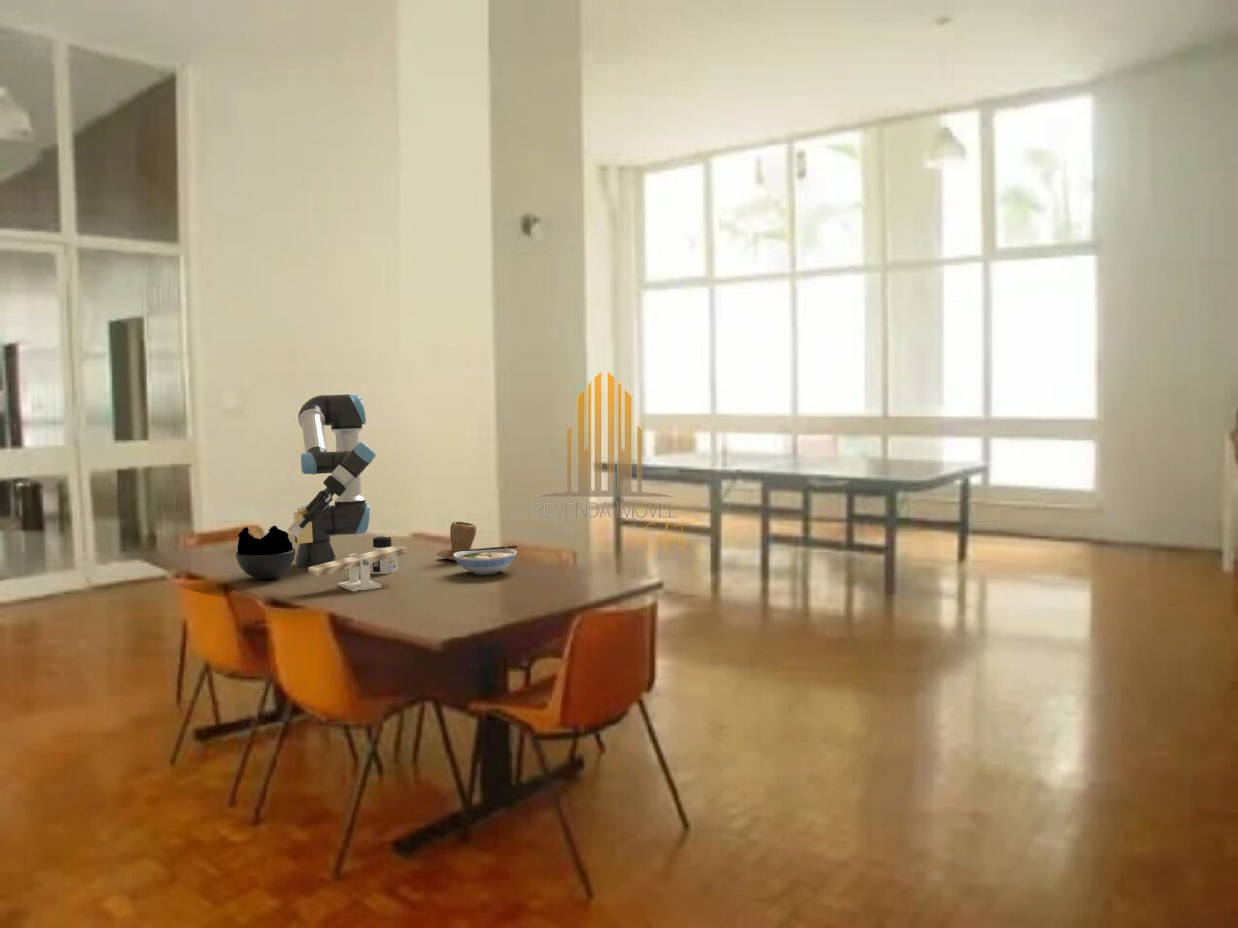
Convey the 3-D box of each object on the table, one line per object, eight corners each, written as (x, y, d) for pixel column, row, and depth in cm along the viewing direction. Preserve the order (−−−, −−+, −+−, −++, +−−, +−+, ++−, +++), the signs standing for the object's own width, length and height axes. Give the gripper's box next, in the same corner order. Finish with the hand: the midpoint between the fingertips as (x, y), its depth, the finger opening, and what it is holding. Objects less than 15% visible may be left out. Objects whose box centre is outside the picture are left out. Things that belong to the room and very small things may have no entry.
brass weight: (295, 541, 339) (293, 508, 338) (310, 540, 341) (308, 507, 340) (297, 543, 335) (295, 509, 334) (312, 542, 337) (310, 508, 336)
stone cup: (482, 560, 385) (481, 521, 384) (455, 564, 377) (454, 525, 376) (462, 555, 396) (461, 518, 395) (436, 559, 389) (434, 521, 388)
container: (388, 574, 360) (387, 538, 358) (368, 573, 361) (367, 538, 360) (397, 570, 367) (396, 535, 366) (378, 569, 369) (376, 535, 368)
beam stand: (353, 591, 330) (351, 560, 329) (338, 585, 340) (337, 555, 339) (381, 587, 336) (380, 556, 335) (366, 581, 346) (365, 551, 345)
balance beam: (317, 576, 325) (316, 570, 325) (309, 573, 331) (308, 567, 331) (407, 553, 343) (406, 547, 343) (398, 550, 350) (397, 545, 350)
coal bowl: (308, 575, 360) (306, 523, 359) (268, 586, 342) (265, 531, 340) (266, 572, 368) (263, 521, 367) (224, 582, 350) (221, 529, 349)
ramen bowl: (454, 581, 343) (453, 558, 343) (447, 570, 365) (446, 548, 365) (526, 576, 350) (525, 553, 349) (515, 565, 372) (514, 543, 371)
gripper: (352, 490, 335) (305, 544, 329) (341, 486, 351) (296, 537, 345) (335, 476, 332) (287, 529, 327) (325, 472, 349) (279, 523, 343)
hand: (292, 533), depth 336 cm, fingers closed on brass weight, 5 cm apart
